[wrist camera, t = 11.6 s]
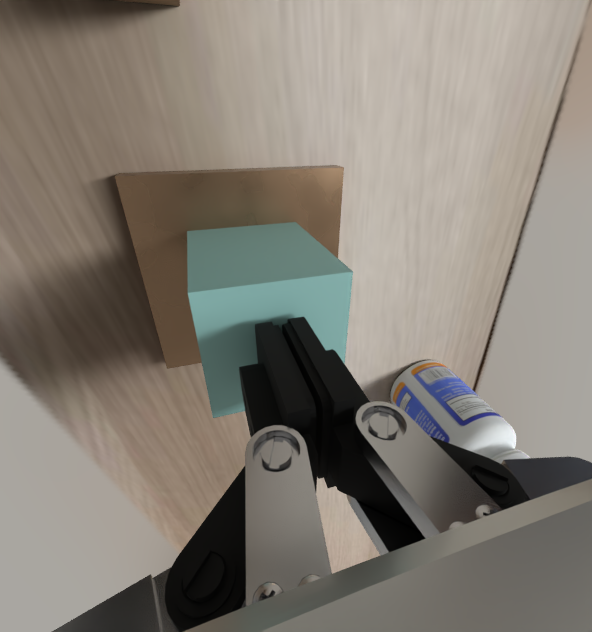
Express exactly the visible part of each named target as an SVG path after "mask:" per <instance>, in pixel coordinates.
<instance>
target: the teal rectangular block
mask: <svg viewBox="0 0 592 632" xmlns="http://www.w3.org/2000/svg"><path fill="white" fill-rule="evenodd" d="M187 268H188V297H189V302H190V307H191V311H192V316H193V321H194V326H195V331H196V336H197V341H198V346H199V351H200V356H201V361H202V366H203V370H204V375H205V380H206V385H207V390H208V395H209V400H210V405H211V410H212V415H213V418H215V417H220V416H224V415H229V414H233V413H238V412H242V411H245V407H244V401H243V395H242V389H241V381H240V373H239V367H241V366H246V365H252V364H257V363H258V359H257V347H256V335H255V324H259V323H265V322H272V323H273V326H274V325H279V327H280V329H281V331H282V325H283V324H286V323H287V320H288V319H291V318H297V317H305V318H306V320H307V321H308V323H309V325H310V326H311V328H312V329H313V331H314V333H315V334H316V336H317V337H318V339H319V340H320V342H321V344H322V345H323V347H324V348H325V350H331V349H333V350H335V351H336V353H337V354H338V355H339V357H340V358H341V360H342V361H343V363H345V352H346V341H347V330H348V319H349V308H350V297H351V286H352V275H353V271H352V270H350V269H349V268H348V267H347V266H346V265H345V264H344V263H342V262H341V261H340V260H339V259H338V258H337V257H335V256H334V255H333V254H332V253H331V252H330V251H329V250H327V249H326V248H325V247H324V246H323V245H322V244H320V243H319V242H318V241H317V240H316V239H315V238H314V237H312V236H311V235H310V234H309V233H308V232H307V231H305V230H304V229H303V228H302V227H301V226H300V225H299V224H297V223H296V222H290V223H278V224H266V225H254V226H242V227H230V228H218V229H207V230H195V231H187Z"/></svg>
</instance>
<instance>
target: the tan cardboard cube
mask: <svg viewBox="0 0 592 632" xmlns="http://www.w3.org/2000/svg"><path fill="white" fill-rule="evenodd" d="M115 1H127V2H139V3H151V4H163V5H175V6H180V0H115Z"/></svg>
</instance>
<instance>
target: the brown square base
mask: <svg viewBox="0 0 592 632" xmlns="http://www.w3.org/2000/svg"><path fill="white" fill-rule="evenodd" d="M343 171H344V167H340V166H336V165H330V166H303V167H276V168H249V169H223V170H196V171H169V172H142V173H119V174H117V175H116V176H115V180H116V184H117V187H118V191H119V195H120V198H121V202H122V205H123V209H124V213H125V216H126V220H127V224H128V227H129V231H130V235H131V238H132V242H133V246H134V249H135V253H136V257H137V260H138V264H139V267H140V271H141V275H142V278H143V282H144V286H145V289H146V293H147V297H148V300H149V304H150V308H151V311H152V315H153V319H154V322H155V326H156V329H157V333H158V337H159V340H160V344H161V348H162V351H163V355H164V359H165V362H166V366H167V369H168V368H174V367H179V366H185V365H190V364H196V363H202V361H201V356H200V351H199V346H198V341H197V336H196V331H195V326H194V321H193V316H192V311H191V307H190V302H189V297H188V268H187V231H195V230H207V229H218V228H230V227H242V226H254V225H266V224H278V223H290V222H296V223H297V224H299V225H300V226H301V227H302V228H303V229H304V230H305V231H307V232H308V233H309V234H310V235H311V236H312V237H314V238H315V239H316V240H317V241H318V242H319V243H320V244H322V245H323V246H324V247H325V248H326V249H327V250H329V251H330V252H331V253H332V254H333V255H334V256H335V257H337V258H338V246H339V231H340V216H341V201H342V186H343Z"/></svg>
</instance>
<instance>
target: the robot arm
mask: <svg viewBox="0 0 592 632" xmlns="http://www.w3.org/2000/svg"><path fill="white" fill-rule="evenodd" d="M255 335H256V347H257V359H258V363H257V364H252V365H246V366H241V367H239V373H240V381H241V389H242V395H243V401H244V407H245V412H246V416H247V421H248V426H249V431H250V435H251V439H250V440H249V442H248V444H247V447H246V453H245V467H244V468H243V469H242V471H241V472H240V473H239V475H238V476H237V477H236V479H235V480H234V481H233V483H232V484H231V485H230V487H229V488H228V490H227V491H226V492H225V494H224V495H223V496H222V498H221V499H220V500H219V502H218V503H217V504H216V506H215V507H214V508H213V510H212V511H211V512H210V514H209V515H208V517H207V518H206V519H205V521H204V522H203V523H202V525H201V526H200V527H199V529H198V530H197V531H196V533H195V534H194V535H193V537H192V538H191V539H190V541H189V542H188V544H187V545H186V546H185V548H184V549H183V550H182V552H181V553H180V554H179V556H178V557H177V559H176V561H175V562H174V564H173V566H172V567H171V568H169V569H167V570H166V571H164V572H162V573H161V574H159V575H157V576H156V577H154V578H152V576H151V575H149V576H147V577H145V578H143V579H142V580H140V581H138V582H137V583H135V584H133V585H131V586H130V587H128V588H126V589H125V590H123V591H121V592H120V593H118V594H116V595H114V596H113V597H111V598H109V599H107V600H106V601H104V602H102V603H100V604H99V605H97V606H95V607H94V608H92V609H90V610H88V611H87V612H85V613H83V614H82V615H80V616H78V617H76V618H75V619H73V620H71V621H70V622H68V623H66V624H64V625H63V626H61V627H59V628H57V629H56V630H54V631H52V632H592V463H591V462H589V461H586V460H583V459H580V458H576V457H550V458H528V459H507V460H503V462H502V464H500V463H498V462H496V461H494V460H492V459H490V458H488V457H485V456H482V455H480V454H477V453H474V452H472V451H469V450H466V449H464V448H461V447H458V446H455V445H453V444H450V443H447V442H445V441H442V440H439V439H437V438H434V437H431V436H429V435H428V434H427V433H426V432H425V431H424V430H423V429H422V428H421V427H420V426H419V425H418V424H417V423H416V422H415V421H414V420H413V419H412V418H411V417H410V416H409V415H408V414H407V413H406V412H405V411H403V410H402V409H401V408H399V407H398V406H395V405H393V404H391V403H387V402H383V401H374V402H370V401H369V400H368V398H367V397H366V395H365V394H364V393H363V391H362V390H361V388H360V387H359V385H358V384H357V382H356V381H355V379H354V378H353V376H352V375H351V373H350V372H349V370H348V369H347V367H346V366H345V364H344V363H343V361H342V360H341V358H340V357H339V355H338V354H337V353H336V351H335V350H333V349H331V350H325V348H324V347H323V345H322V344H321V342H320V340H319V339H318V337H317V336H316V334H315V333H314V331H313V329H312V328H311V326H310V325H309V323H308V321H307V320H306V318H305V317H297V318H291V319H288V320H287V323H286V324H283V325H282V331H281V329H280V327H279V325H274V326H273V323H272V322H265V323H259V324H255ZM317 477H318V478H323V477H324V479H325V482H326V484H327V487H328V488H330V487H334V486H336V487H337V489H338V490H339V491H341V492H343V493H345V494H347V499H348V501H349V503H350V505H351V507H352V509H353V510H354V512H355V514H356V515H357V517H358V519H359V520H360V522H361V524H362V525H363V527H364V529H365V530H366V532H367V533H368V535H369V537H370V538H371V540H372V542H373V543H374V545H375V547H376V548H377V550H378V552H379V553H380V555H381V556H378V557H376V558H373V559H370V560H368V561H365V562H362V563H360V564H357V565H354V566H352V567H349V568H346V569H344V570H341V571H339V572H336V573H333V574H332V572H331V567H330V562H329V557H328V552H327V547H326V542H325V537H324V532H323V527H322V522H321V517H320V512H319V507H318V501H317V496H316V484H317Z"/></svg>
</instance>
